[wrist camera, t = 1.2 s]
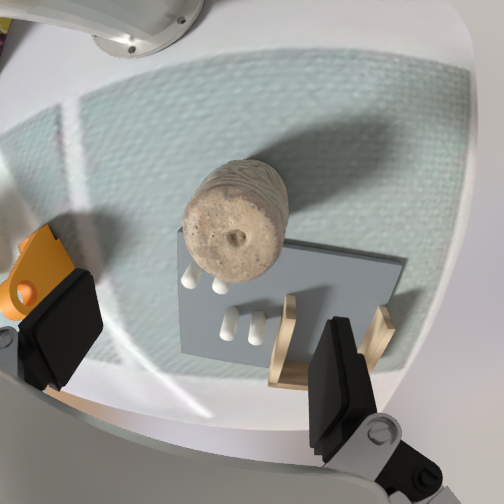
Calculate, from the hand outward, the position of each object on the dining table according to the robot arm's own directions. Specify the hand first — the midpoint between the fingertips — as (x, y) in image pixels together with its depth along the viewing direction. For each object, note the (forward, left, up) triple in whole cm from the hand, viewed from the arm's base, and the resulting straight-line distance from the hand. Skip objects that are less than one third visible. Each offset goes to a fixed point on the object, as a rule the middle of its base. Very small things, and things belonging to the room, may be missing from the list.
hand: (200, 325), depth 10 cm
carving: (0, 0, -19) cm, 19 cm away
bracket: (+13, -27, -19) cm, 35 cm away
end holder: (+16, +11, -18) cm, 26 cm away
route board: (+14, +5, -19) cm, 24 cm away
